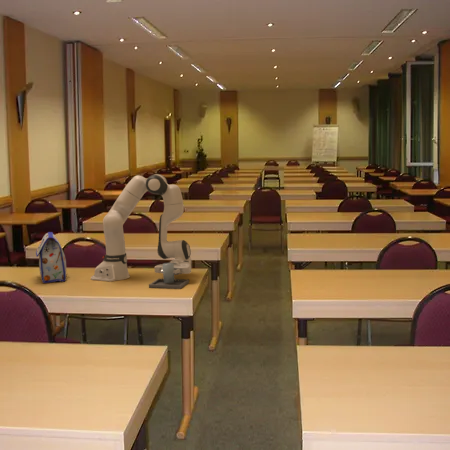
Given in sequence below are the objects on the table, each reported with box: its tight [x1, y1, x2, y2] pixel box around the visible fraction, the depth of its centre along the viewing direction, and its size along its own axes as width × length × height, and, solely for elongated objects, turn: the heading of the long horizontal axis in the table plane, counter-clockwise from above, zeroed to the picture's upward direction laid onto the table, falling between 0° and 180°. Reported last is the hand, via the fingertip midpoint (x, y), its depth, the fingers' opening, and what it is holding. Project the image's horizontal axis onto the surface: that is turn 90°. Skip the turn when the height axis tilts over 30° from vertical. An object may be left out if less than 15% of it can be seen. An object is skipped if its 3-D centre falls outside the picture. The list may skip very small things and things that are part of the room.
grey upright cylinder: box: [162, 262, 175, 283], centre depth 350 cm, size 6×6×10 cm
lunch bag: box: [35, 231, 67, 284], centre depth 375 cm, size 23×17×27 cm
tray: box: [148, 278, 190, 290], centre depth 351 cm, size 18×14×2 cm
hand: (168, 272), depth 349 cm, fingers closed on grey upright cylinder, 6 cm apart
